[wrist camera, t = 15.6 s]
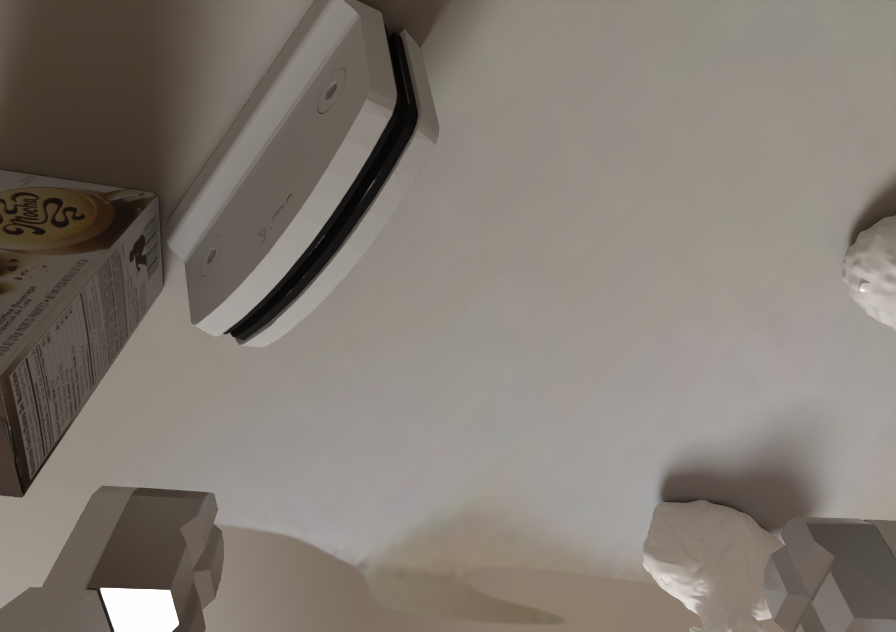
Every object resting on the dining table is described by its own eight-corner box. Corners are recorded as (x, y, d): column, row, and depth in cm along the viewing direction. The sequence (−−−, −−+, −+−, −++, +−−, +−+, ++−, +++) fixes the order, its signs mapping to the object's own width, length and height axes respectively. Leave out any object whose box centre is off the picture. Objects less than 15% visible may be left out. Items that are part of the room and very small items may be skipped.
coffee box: (5, 269, 41) (-222, 475, 28) (-16, 162, 38) (-288, 339, 24) (167, 293, 42) (24, 506, 28) (161, 190, 38) (-6, 377, 25)
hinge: (335, -31, 32) (373, 73, 25) (416, 28, 35) (470, 137, 28) (163, 228, 39) (156, 363, 33) (241, 260, 42) (250, 391, 35)
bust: (622, 486, 53) (596, 651, 49) (682, 478, 46) (657, 670, 42) (762, 529, 55) (748, 690, 51) (839, 528, 48) (830, 715, 44)
